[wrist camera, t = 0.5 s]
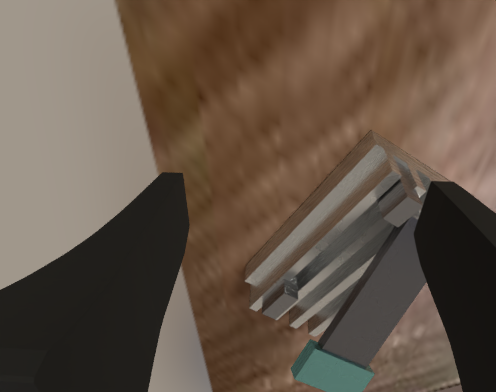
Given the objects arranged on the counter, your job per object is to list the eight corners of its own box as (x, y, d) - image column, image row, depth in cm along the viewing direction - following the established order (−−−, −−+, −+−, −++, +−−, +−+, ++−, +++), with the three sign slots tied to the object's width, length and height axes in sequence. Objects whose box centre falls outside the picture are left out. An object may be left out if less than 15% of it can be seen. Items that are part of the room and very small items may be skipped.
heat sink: (371, 130, 21) (390, 181, 18) (473, 196, 24) (510, 254, 20) (246, 264, 28) (241, 322, 25) (334, 306, 31) (341, 364, 27)
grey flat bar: (403, 195, 20) (413, 200, 19) (460, 229, 21) (472, 235, 20) (290, 367, 21) (294, 379, 21) (347, 390, 22) (354, 402, 22)
